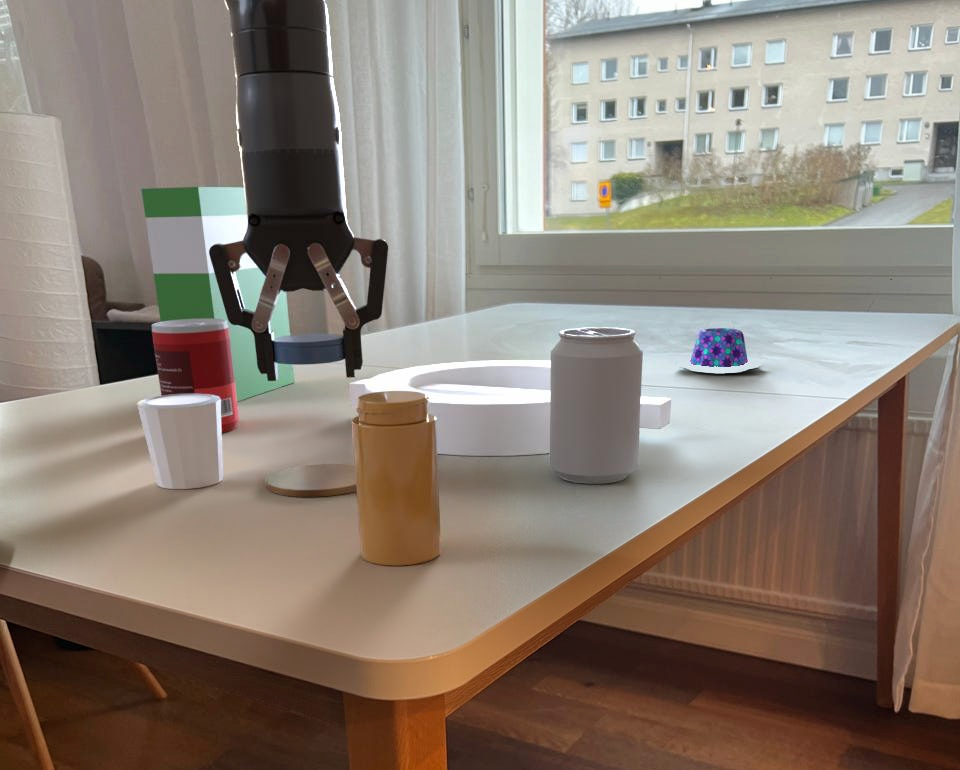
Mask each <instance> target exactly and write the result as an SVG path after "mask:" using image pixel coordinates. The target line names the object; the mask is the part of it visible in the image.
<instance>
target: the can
mask: <svg viewBox="0 0 960 770" xmlns="http://www.w3.org/2000/svg"><path fill="white" fill-rule="evenodd" d="M636 335H637V333H636V332H635V330H634V329H629V328H621V327H579V328H578V327H576V328H568V329H564V330H560V331H559V332H558V336H559V338H560V339H559V341H558V342H557V343H556V344H555V345H554V346H553V348H552V349H551V350H550V361H551V376H550V453H549V467H550V469H552V470H553V471H554V473H556V474H557V475H558V477H559V478H560V479H562V480H565V481H568V482H569V483H570V482H571V483H577V484H587V485H601V484H602V485H603V484H611V483H617V482H621V481H623V480H626V479H627V478H628V477H629V475H630V474H632V473H633V472H634V471H635V470H636V469H637V468H638V467H639V447H640V446H639V445H640V429H641V428H640V405H641V397H642V380H643V361H644V360H643V359H644V358H643V357H644V351H643V349H642V348H641V346H639V344H638V343H637V342H636V341H635V336H636ZM627 476H628V477H627ZM625 478H626V479H625Z"/></svg>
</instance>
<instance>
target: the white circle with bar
mask: <svg viewBox="0 0 960 770" xmlns="http://www.w3.org/2000/svg"><path fill="white" fill-rule="evenodd" d="M550 376H551V360H535V359H533V360H531V359H528V360H527V359H509V360H508V359H502V360H501V359H500V360H472V361H471V360H470V361H469V360H468V361H456V362H443V363H435V364H434V363H433V364H426V365H417V366H410V367H405V368H400V369H394V370H391V371H386V372H383V373H379V374H376V375H375V376H372V377H370V378H363V379H360V380H354V381H352V382H348V394H349V406H350V407H353V408H354V407H356V408H358V397H360V396H362V395H364V394H369V393H374V392H383V391H414V392H420V393H424V394H426V395H428V397H429V402H428V414H431V415H434V416H435V417H436V433H437V455H449V456H450V455H451V456H467V457H468V456H469V457H470V456H472V457H508V456H509V457H511V456H530V455H543V454H550ZM671 409H672V398H667V397H652V396H641V405H640V428H639V429H649V430H661V429H663V428H665V426H667V425H669V424H670V423H671Z"/></svg>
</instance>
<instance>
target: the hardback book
mask: <svg viewBox="0 0 960 770" xmlns="http://www.w3.org/2000/svg"><path fill="white" fill-rule="evenodd" d="M141 196H142V205H143V211H144V217H145V222H146V223H145V224H146V230H147V231H146V232H147V236H148V237H147V239H148V244H149V252H150V258H151V266H152V273H153V278H154V279H153V280H154V287H155V292H156V300H157V307H158V313H159V322H163V321H170V320H181V319H223V320H226V321H227V325H228V328H229V336H230V344H231V352H232V361H233V370H234V379H235V387H236V396H237V403H238V402H241V401H244V400H247V399H250V398H252V397H256V396H258V395H262V394H264V393H268V392H270V391H273V390H276V389H279V388H282V387H285V386H287V385H291V384H293V383H295V382H296V380H295V370H294V365H291V364H280V363H277V369H278V379H277V381H268V379H267V374H261V373H260V371H259V369H258V366H257V357H256V348H255V339H254V334H253V333H252V331H251V330H250V329H248V328H245V327H242V326H239V325H232V324H231V323H230V322H229V321H228V318H227V315H226V311H225V308H224V304H223V301H222V297H221V294H220V290H219V287H218V283H217V280H216V276H215V273H214V269H213V266H212V262H211V259H210V255H209V249H210V248H211V246H213V245H215V244H229V243H233V242H238V241H243V239H244V236H245V233H246V231H247V225H248V220H247V210H246V201H245V192H244V187H237V186H235V187H232V186H231V187H229V186H183V187H182V186H181V187H155V188H149V187H148V188H141ZM241 263H242V265H241V268H240V269H239V270H238V271H236V272H235V275H236V278H237V282H238V285H239V289H240V293H241V296H242V300H243V303H244V307H245V309H247V310H250V311H253V312H255V310H256V307H257V304H258V301H259V297H260V293H261V290H262V287H263V284H264V281H265V278H266V277H265V275H264V274H263V273H262V272H261V270H260V269H259V268H258V267H257V265H256V264H255V263H254V262H253V261H252V259H251V258H250V257H249V256H248V254H247V253H245V254H244V255H243V256H242V258H241ZM287 297H288V296H287V292H283V291H282V290H281V292H280V295H279V298H278V301H277V303H276V306H275V309H274V312H273V315H272V318H271V321H270V328H271V331H274V338H277V337H282V336H289V335H291V328H290V318H289V306H288V298H287Z"/></svg>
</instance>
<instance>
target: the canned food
mask: <svg viewBox="0 0 960 770" xmlns="http://www.w3.org/2000/svg"><path fill="white" fill-rule="evenodd" d="M151 335H152V343H153V349H154V351H153V352H154V356H155V357H154V358H155V363H156V368H157V369H156V370H157V377H158V383H159V389H160V396H163V395H171V394H191V393H196V394H210V395H215V396H219V397H220V399H221V427H222V434H224V433H227V432H230V431H233V430H236V429H237V427H238V426H239V421H240V415H239V414H240V413H239V406H238V402H237V396H236V387H235V379H234V370H233V361H232V352H231V344H230V336H229V328H228V325H227V321H226V320H223V319H181V320H170V321H163V322H161V321H157V322H154V323H152V324H151Z"/></svg>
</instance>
